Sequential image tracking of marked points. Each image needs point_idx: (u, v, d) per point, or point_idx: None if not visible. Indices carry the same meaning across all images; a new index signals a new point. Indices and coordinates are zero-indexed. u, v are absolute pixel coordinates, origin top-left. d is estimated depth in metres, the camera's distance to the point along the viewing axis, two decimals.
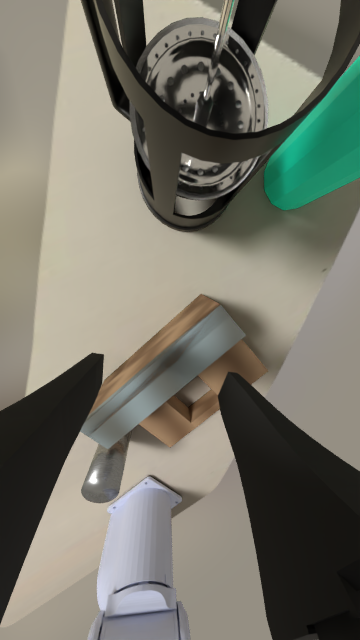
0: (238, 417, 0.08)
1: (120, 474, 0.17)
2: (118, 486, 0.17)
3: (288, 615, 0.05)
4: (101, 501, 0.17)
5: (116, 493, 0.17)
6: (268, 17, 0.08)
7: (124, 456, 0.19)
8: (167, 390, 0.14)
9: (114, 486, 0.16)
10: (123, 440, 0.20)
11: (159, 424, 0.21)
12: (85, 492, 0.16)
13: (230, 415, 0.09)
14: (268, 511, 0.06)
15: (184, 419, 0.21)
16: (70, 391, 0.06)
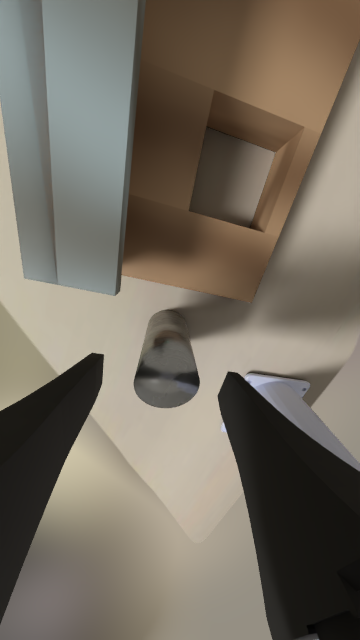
0: (238, 417, 0.08)
1: (186, 353, 0.10)
2: (190, 365, 0.09)
3: (288, 615, 0.05)
4: (181, 401, 0.10)
5: (195, 379, 0.09)
6: None
7: (183, 337, 0.11)
8: None
9: (183, 368, 0.09)
10: (172, 324, 0.12)
11: (210, 269, 0.11)
12: (147, 397, 0.09)
13: (230, 415, 0.09)
14: (268, 511, 0.06)
15: (249, 232, 0.10)
16: (70, 391, 0.06)
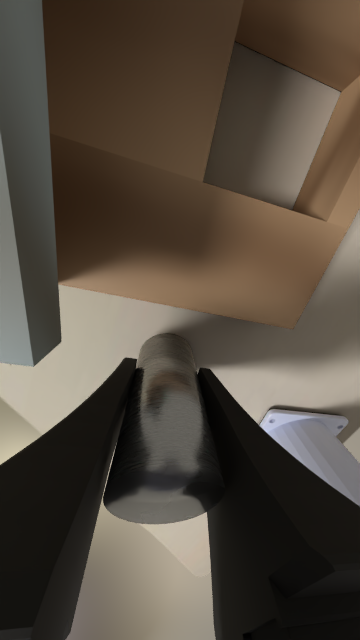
0: None
1: (200, 433, 0.05)
2: (210, 470, 0.05)
3: (229, 622, 0.04)
4: (191, 514, 0.06)
5: (218, 487, 0.05)
6: None
7: (192, 390, 0.07)
8: None
9: (196, 476, 0.05)
10: (173, 363, 0.08)
11: (235, 280, 0.07)
12: (129, 514, 0.05)
13: None
14: (221, 511, 0.05)
15: (301, 221, 0.06)
16: (121, 396, 0.06)
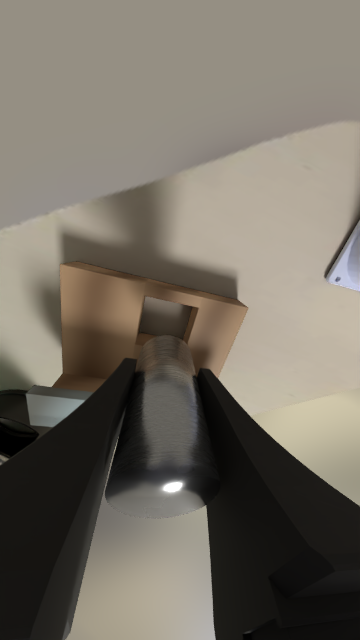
0: None
1: (192, 430, 0.06)
2: (201, 465, 0.05)
3: (229, 621, 0.04)
4: (193, 507, 0.06)
5: (213, 480, 0.05)
6: None
7: (187, 388, 0.07)
8: None
9: (188, 471, 0.05)
10: (168, 364, 0.08)
11: (218, 339, 0.16)
12: (133, 510, 0.06)
13: None
14: (221, 511, 0.05)
15: (198, 318, 0.15)
16: (121, 396, 0.06)
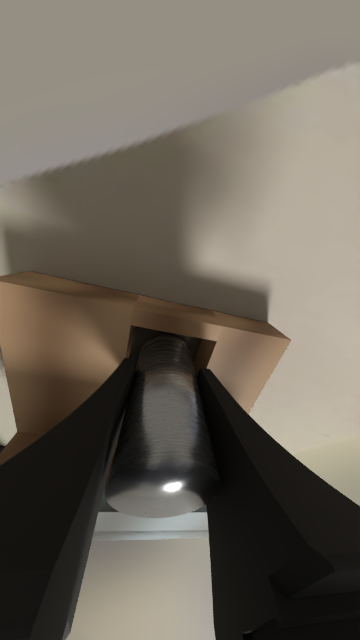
0: (205, 414, 0.08)
1: (192, 430, 0.06)
2: (201, 464, 0.05)
3: (229, 621, 0.04)
4: (193, 507, 0.06)
5: (213, 480, 0.05)
6: None
7: (187, 388, 0.07)
8: (121, 518, 0.08)
9: (189, 470, 0.05)
10: (168, 364, 0.08)
11: (243, 382, 0.11)
12: (133, 510, 0.06)
13: None
14: (221, 511, 0.05)
15: (215, 355, 0.10)
16: (121, 396, 0.06)
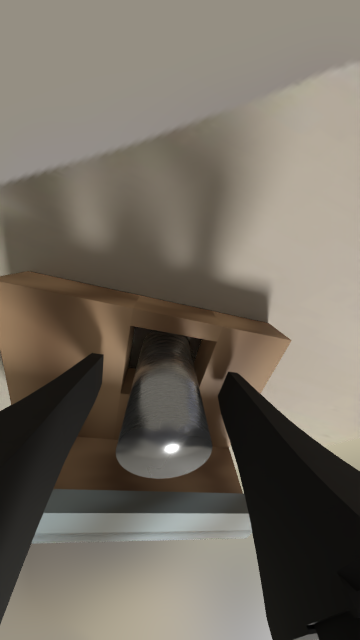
0: (238, 417, 0.08)
1: (189, 401, 0.07)
2: (196, 426, 0.06)
3: (288, 615, 0.05)
4: (189, 468, 0.07)
5: (206, 441, 0.06)
6: None
7: (185, 370, 0.08)
8: (120, 520, 0.08)
9: (185, 431, 0.06)
10: (168, 351, 0.09)
11: None
12: (139, 469, 0.07)
13: (230, 415, 0.09)
14: (268, 511, 0.06)
15: (215, 356, 0.10)
16: (70, 391, 0.06)
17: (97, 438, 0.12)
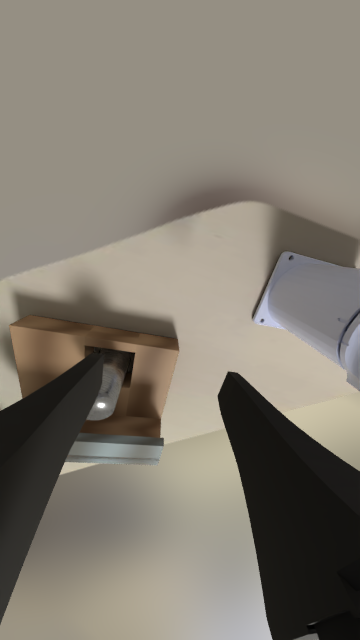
0: (238, 417, 0.08)
1: (105, 383, 0.14)
2: (103, 392, 0.13)
3: (287, 614, 0.05)
4: (107, 414, 0.14)
5: (110, 400, 0.14)
6: None
7: (111, 369, 0.16)
8: (79, 446, 0.16)
9: (99, 395, 0.14)
10: (106, 358, 0.17)
11: (158, 375, 0.19)
12: None
13: (230, 415, 0.09)
14: (268, 511, 0.06)
15: (136, 360, 0.18)
16: (70, 391, 0.06)
17: None
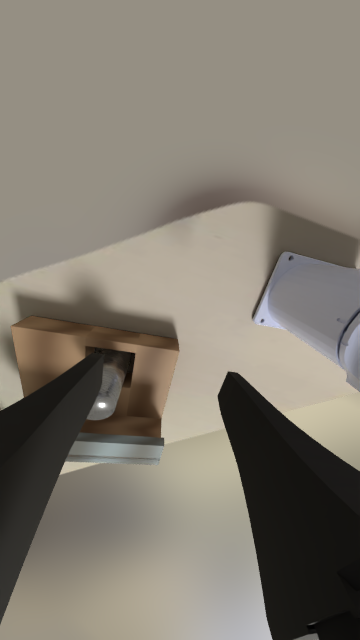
0: (238, 417, 0.08)
1: (105, 383, 0.14)
2: (104, 392, 0.14)
3: (287, 614, 0.05)
4: (107, 414, 0.15)
5: (110, 400, 0.14)
6: None
7: (112, 369, 0.16)
8: (80, 446, 0.16)
9: (99, 394, 0.14)
10: (107, 358, 0.17)
11: (158, 376, 0.19)
12: None
13: (230, 415, 0.09)
14: (268, 511, 0.06)
15: (136, 360, 0.18)
16: (70, 391, 0.06)
17: None
